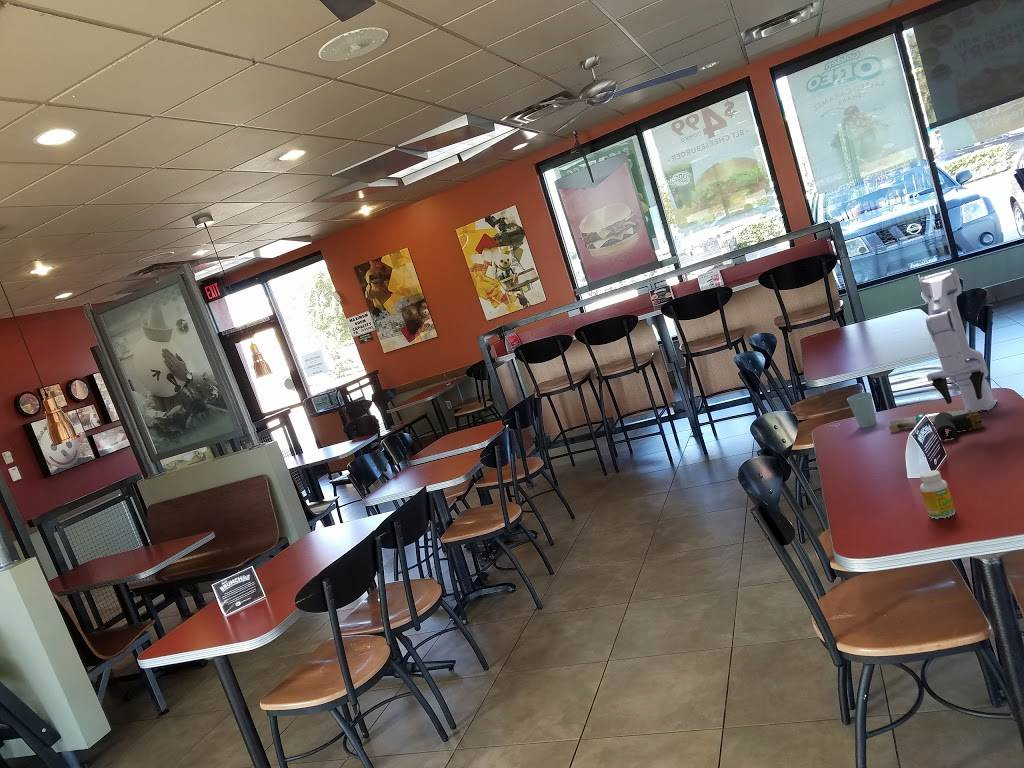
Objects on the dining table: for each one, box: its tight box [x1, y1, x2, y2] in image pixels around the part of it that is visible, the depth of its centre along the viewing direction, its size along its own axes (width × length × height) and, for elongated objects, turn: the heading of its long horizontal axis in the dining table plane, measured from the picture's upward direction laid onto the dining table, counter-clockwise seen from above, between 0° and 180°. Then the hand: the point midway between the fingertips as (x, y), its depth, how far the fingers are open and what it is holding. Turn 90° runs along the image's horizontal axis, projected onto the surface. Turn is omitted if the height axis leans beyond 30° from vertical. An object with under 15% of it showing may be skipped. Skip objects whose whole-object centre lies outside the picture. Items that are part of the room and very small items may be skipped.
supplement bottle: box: [919, 470, 957, 520], centre depth 169 cm, size 5×5×10 cm
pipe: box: [888, 408, 972, 434], centre depth 236 cm, size 22×5×4 cm, turn 47°
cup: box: [846, 392, 877, 429], centre depth 260 cm, size 8×8×10 cm
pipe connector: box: [934, 411, 984, 442], centre depth 221 cm, size 12×5×15 cm
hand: (964, 400), depth 214 cm, fingers open, 7 cm apart
